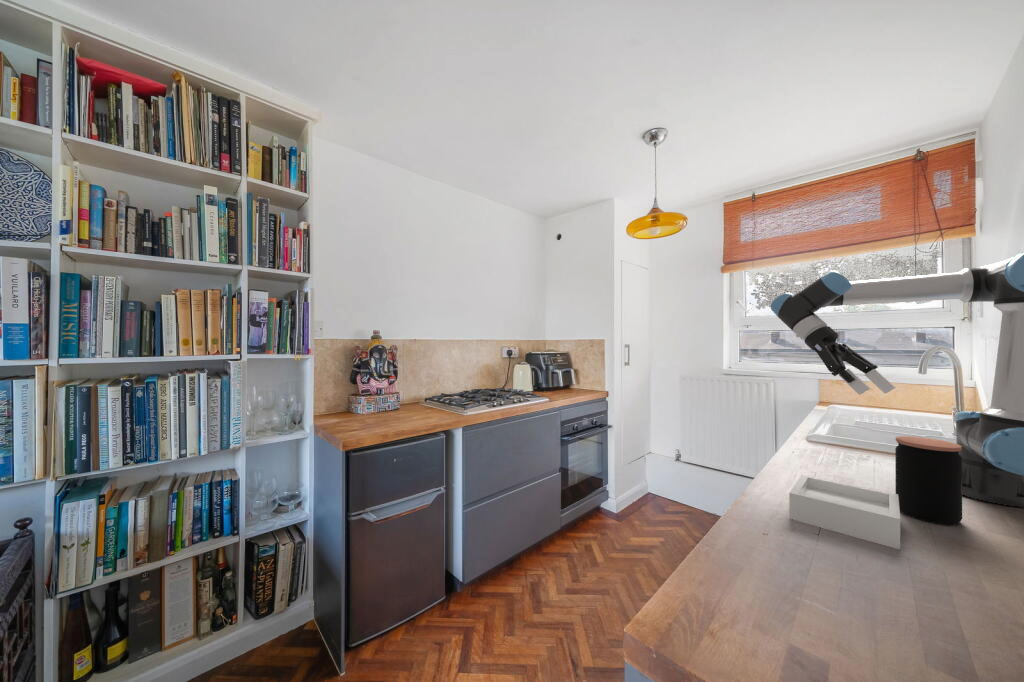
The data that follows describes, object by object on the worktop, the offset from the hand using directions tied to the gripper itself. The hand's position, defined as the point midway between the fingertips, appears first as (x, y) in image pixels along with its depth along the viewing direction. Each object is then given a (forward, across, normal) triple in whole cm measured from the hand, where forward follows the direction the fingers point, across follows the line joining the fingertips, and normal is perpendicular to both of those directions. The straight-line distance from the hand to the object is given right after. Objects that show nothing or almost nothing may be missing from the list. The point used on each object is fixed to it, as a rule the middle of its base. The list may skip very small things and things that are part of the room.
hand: (878, 391), depth 97 cm
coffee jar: (+28, 0, -13) cm, 31 cm away
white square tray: (+23, +21, -19) cm, 37 cm away
